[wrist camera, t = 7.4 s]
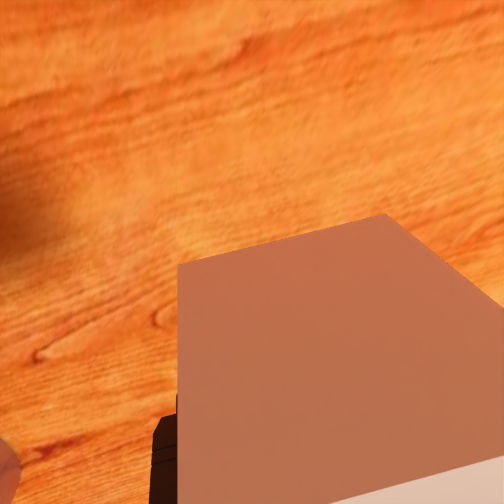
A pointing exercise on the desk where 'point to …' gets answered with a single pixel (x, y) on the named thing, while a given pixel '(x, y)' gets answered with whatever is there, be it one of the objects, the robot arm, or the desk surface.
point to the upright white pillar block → (338, 374)
